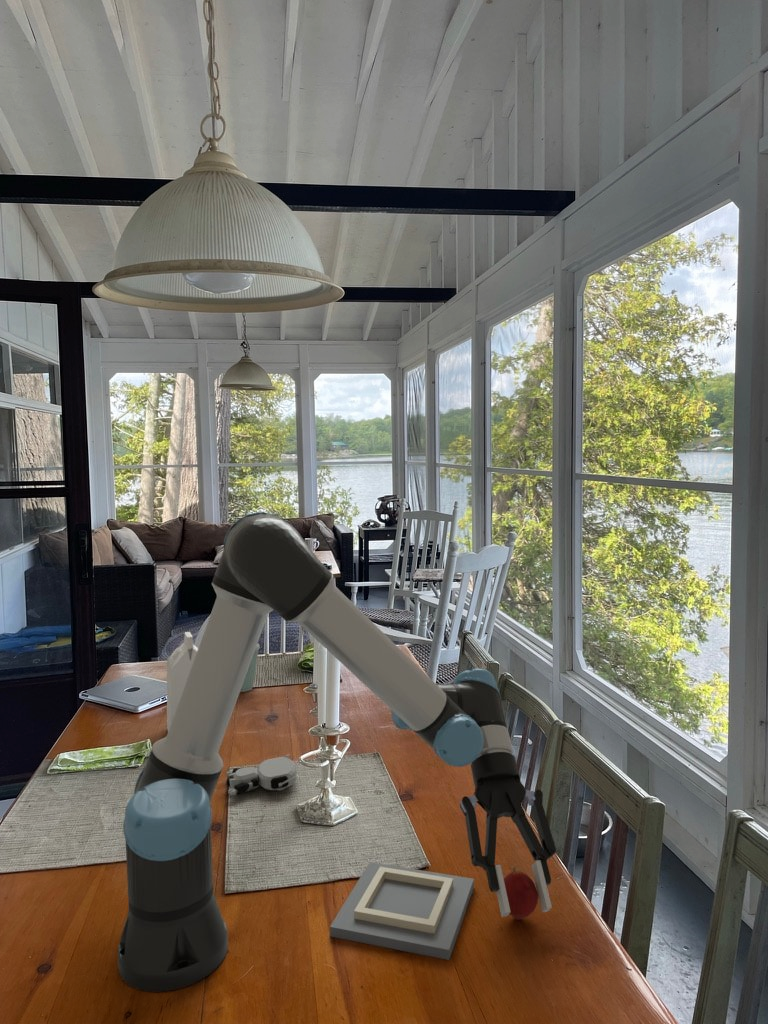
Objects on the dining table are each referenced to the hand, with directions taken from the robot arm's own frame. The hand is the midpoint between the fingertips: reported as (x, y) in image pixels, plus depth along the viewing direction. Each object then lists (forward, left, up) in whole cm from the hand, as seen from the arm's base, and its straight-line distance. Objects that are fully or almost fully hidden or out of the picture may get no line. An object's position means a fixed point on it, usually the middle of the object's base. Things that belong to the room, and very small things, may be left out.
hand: (526, 911), depth 108 cm
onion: (+3, +2, -4) cm, 5 cm away
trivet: (0, +19, -3) cm, 19 cm away
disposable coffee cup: (+92, +98, -4) cm, 134 cm away
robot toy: (+33, +61, -4) cm, 69 cm away
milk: (+56, +93, -4) cm, 108 cm away
